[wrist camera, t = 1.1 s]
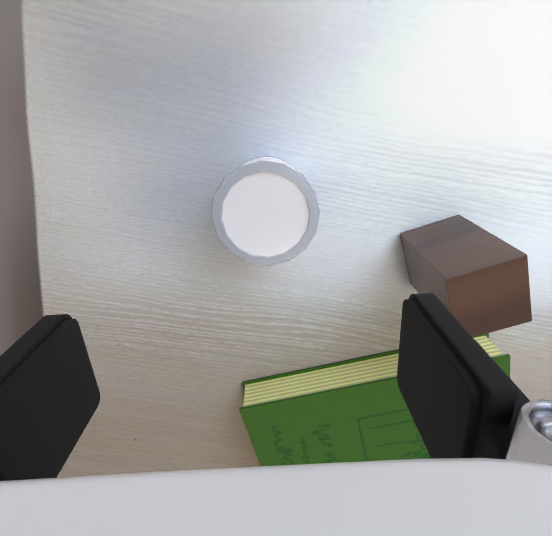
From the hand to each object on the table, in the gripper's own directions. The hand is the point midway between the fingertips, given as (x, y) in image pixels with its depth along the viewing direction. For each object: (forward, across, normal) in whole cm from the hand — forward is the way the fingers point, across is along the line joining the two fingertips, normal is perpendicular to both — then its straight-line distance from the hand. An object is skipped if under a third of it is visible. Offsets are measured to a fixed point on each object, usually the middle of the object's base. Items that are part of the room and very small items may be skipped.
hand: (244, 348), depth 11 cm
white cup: (+21, 0, 0) cm, 21 cm away
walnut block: (+21, -14, +6) cm, 26 cm away
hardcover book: (+22, -11, +26) cm, 35 cm away
